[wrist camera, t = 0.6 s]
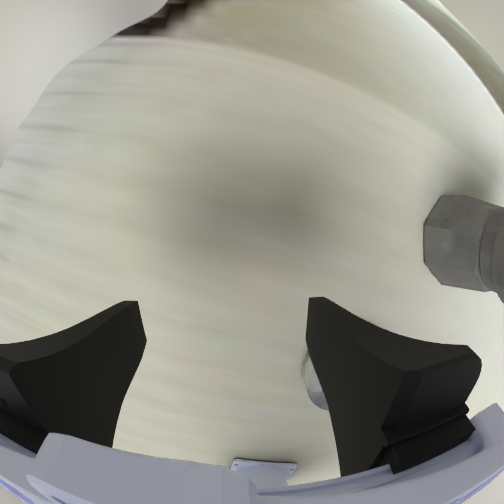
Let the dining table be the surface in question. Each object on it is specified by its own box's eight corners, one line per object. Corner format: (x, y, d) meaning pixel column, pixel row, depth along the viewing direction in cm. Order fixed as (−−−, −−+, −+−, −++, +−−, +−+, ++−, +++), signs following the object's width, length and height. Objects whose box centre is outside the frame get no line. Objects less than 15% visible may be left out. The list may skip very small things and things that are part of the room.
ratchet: (445, 393, 25) (464, 413, 20) (290, 392, 23) (299, 427, 18) (473, 340, 23) (497, 357, 19) (318, 320, 22) (335, 348, 17)
